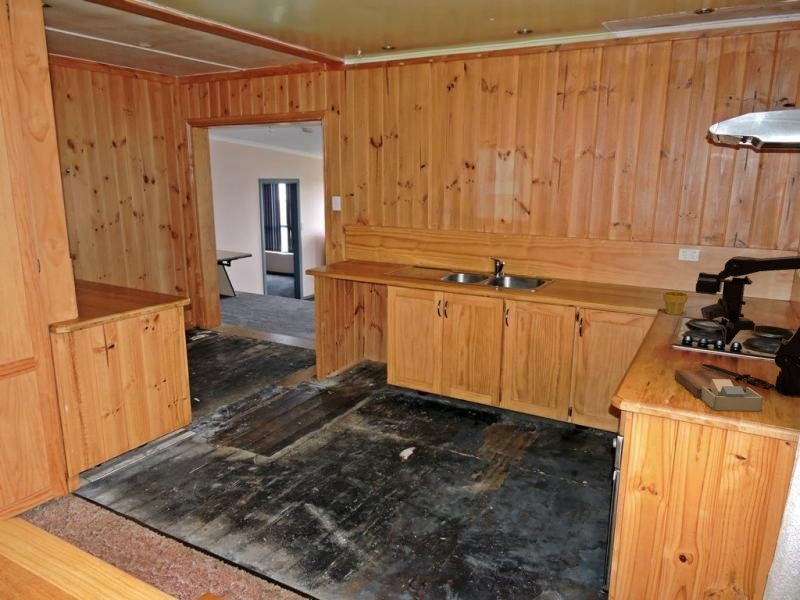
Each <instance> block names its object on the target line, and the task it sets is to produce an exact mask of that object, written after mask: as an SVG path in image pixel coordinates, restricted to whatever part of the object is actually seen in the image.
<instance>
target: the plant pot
mask: <svg viewBox="0 0 800 600" xmlns="http://www.w3.org/2000/svg"><path fill="white" fill-rule="evenodd" d="M662 297H663V301H664V305H665V312H666V314H667V315H672V316H681V315H682V313H683V311H684V308H685V305H686V303H687V302H688V298H689V294H688V293H687V292H682V291H665V292H663V295H662Z"/></svg>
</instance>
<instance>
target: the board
mask: <svg viewBox="0 0 800 600" xmlns="http://www.w3.org/2000/svg"><path fill="white" fill-rule="evenodd" d="M674 377H675V378H674V380H675V379H676V381H677V382H678V383H679V385H681V386H682V385H683V386H684V387H685V388H684V387H683V386H682V387H683V388H684V389H685V390H686V391H687V392H689V393H690V392H691V393H692V394H693V395H694V396H693V395H692V394H691V393H690V394H691V395H692V396H693V397H694V398H696V399H701V393H702V386H704V387H705V388H707V389H708V390H709V391H710V392H712V391H711V389H710V387H709V386H710V383H711V381H712V379H729V380H731V382H732V384H733V386H741V387H742V389H743V391H744V393H746V387H744V386H743V385H742V384H740V383H738V382H737V381H736V380H734V379H733V378H732V377H730V376H727V375H726V374H724V373H723V372H721V371H713V370H691V369H690V370H687V369H686V370H685V369H684V370H677V369H675V373H674Z"/></svg>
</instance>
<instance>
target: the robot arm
mask: <svg viewBox="0 0 800 600" xmlns="http://www.w3.org/2000/svg"><path fill="white" fill-rule="evenodd" d="M793 270H800V255H793V256H792V255H790V256H778V257H763V258H759V257H752V256H743V255H742V256H741V255H739V256H738V255H737V256H733V257H731V258H729V259H728V260H727V261H726V262H725V264H724V268H723V270H720V272H718V273H717V274H716V273H708V272H704V271H703V272H702V271H700V272H699V273H698V278H697V280H696V281H697V282H696V283H695V293H696V294H703V295H711V296H712V295H714V296H716V295H717V294H718V293H721V291H722V296H721V297H720V298H718V299H717V303H714V304H710V305H706V306H704V307H703V306H702V307H701V308H700V312H701V315H702V318H703V319H705V321H714V322H715V323H716V324H717V325H718V326H719V327H720V330H721V334H722V338H723V343H724V345H726V346H727V345H728V346H729V345H730V344H731V342H733V340H734V339H735V337H736V336H737V335H738V334H739V332H740V331H755V330H756V323H755V322H754V321H753V320H751V319H749V318H747V317H746V318H745V314H744V313H742V312H743V311H742V310H743V306H746V305H747V304H746V300H744V294H745V286H746V285H747V286H748V285H749V286H750V285H752V284H753V281H754V280H752V279H750V278H749V275H751V274H755V273H759V272H772V271H773V272H774V271H793ZM742 276H744V277H742ZM731 277H732V279H728V278H731ZM715 319H717V320H715ZM773 355H774V362H775V365H776V367H778V368H780V370H779V371H778V375H777V376H776V379H775V386H774V387H773V388H772V389H775V390H776V391H777V392H779V393H780V394H783V396H785V397H786V396H789V397H790V396H791V397H796V396H798V397H800V325H799V326H797V329H796V330H795V332H794V333H793V335H792V336H791V337H790V338H789V339H787V340H786V339H785V338H782V340H781V343H780V345H778V346H777V347H776V348H775V351H774V352H773Z"/></svg>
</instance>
